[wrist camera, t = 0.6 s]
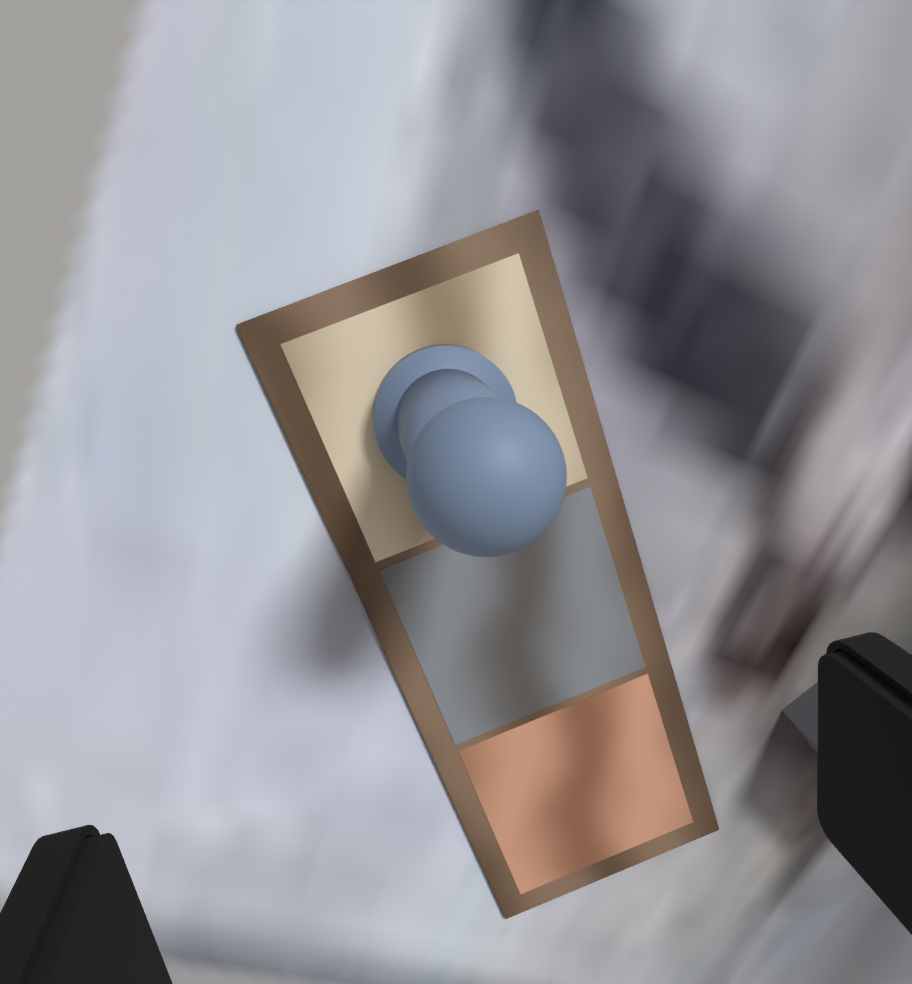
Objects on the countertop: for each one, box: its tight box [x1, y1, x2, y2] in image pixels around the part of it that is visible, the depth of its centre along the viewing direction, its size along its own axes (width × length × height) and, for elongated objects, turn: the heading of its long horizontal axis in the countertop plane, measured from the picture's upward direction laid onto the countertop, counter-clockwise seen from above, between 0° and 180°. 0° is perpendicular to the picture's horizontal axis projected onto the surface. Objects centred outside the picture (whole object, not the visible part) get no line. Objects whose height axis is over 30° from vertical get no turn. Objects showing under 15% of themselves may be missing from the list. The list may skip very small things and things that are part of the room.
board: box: [236, 210, 719, 919], centre depth 33 cm, size 12×32×1 cm, turn 20°
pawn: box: [373, 344, 567, 557], centre depth 24 cm, size 6×6×11 cm
